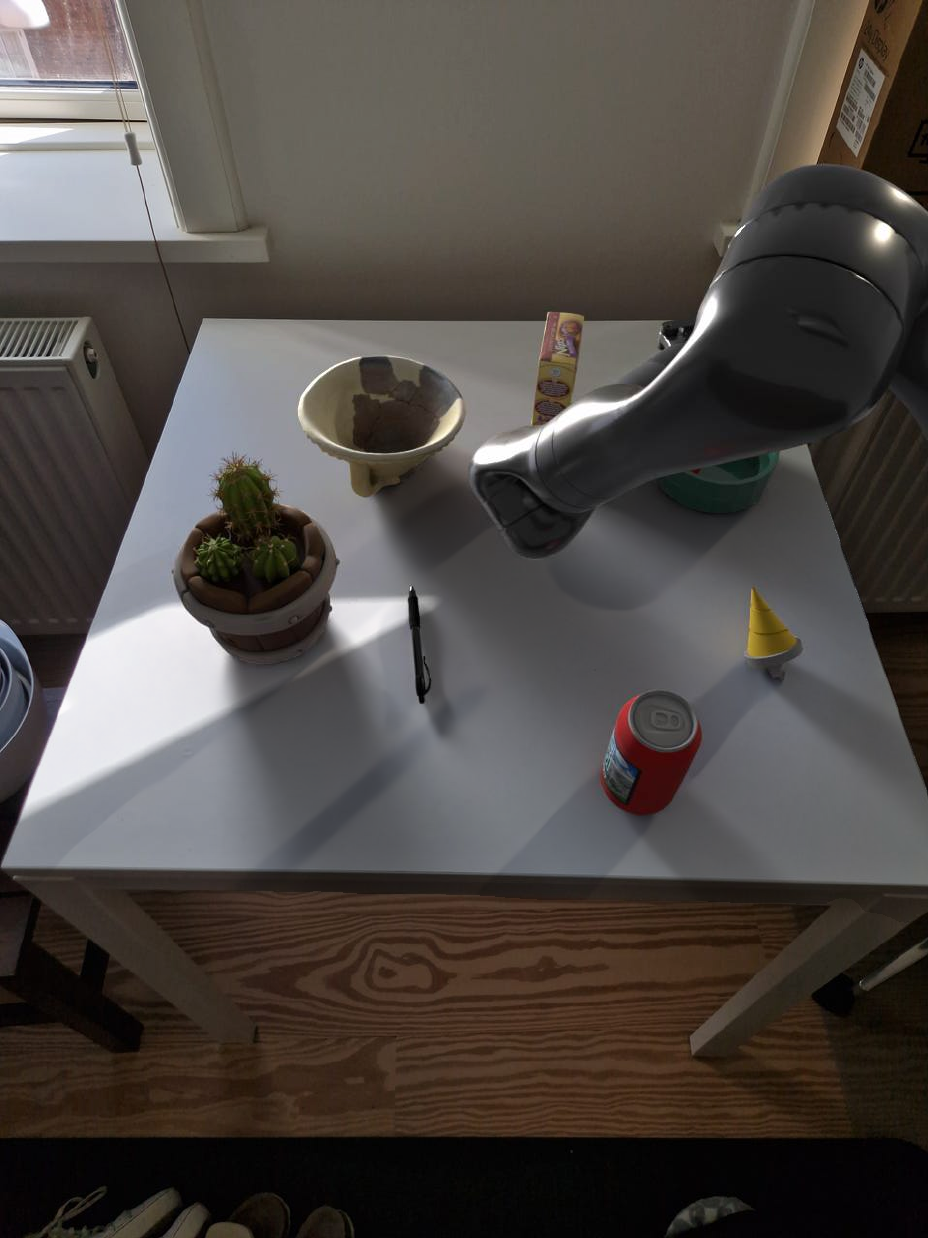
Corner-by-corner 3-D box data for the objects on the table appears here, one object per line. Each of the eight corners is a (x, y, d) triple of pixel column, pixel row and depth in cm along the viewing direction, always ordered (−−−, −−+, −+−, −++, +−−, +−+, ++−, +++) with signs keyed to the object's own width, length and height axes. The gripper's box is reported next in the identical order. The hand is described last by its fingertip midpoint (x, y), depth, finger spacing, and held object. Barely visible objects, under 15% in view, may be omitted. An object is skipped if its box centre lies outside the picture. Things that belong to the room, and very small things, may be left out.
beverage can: (600, 744, 78) (621, 677, 69) (674, 754, 78) (706, 687, 68) (597, 813, 75) (618, 752, 65) (675, 824, 74) (708, 764, 64)
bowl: (432, 538, 93) (430, 475, 86) (285, 497, 97) (269, 433, 89) (485, 435, 103) (487, 370, 95) (349, 401, 107) (341, 335, 99)
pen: (433, 705, 81) (433, 699, 80) (416, 706, 81) (415, 700, 80) (422, 589, 89) (422, 582, 88) (406, 590, 89) (405, 583, 88)
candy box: (562, 474, 99) (576, 365, 87) (525, 469, 100) (534, 360, 87) (570, 423, 104) (585, 313, 92) (535, 418, 105) (545, 309, 92)
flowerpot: (340, 688, 82) (311, 552, 66) (182, 683, 82) (114, 547, 66) (357, 570, 91) (334, 425, 74) (213, 566, 91) (160, 421, 75)
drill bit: (749, 697, 82) (717, 602, 80) (762, 675, 86) (733, 583, 84) (805, 690, 79) (774, 590, 77) (816, 667, 83) (787, 572, 81)
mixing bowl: (772, 448, 102) (785, 416, 98) (760, 527, 94) (773, 495, 90) (662, 426, 104) (670, 393, 100) (642, 501, 97) (650, 468, 93)
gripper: (733, 408, 69) (852, 321, 76) (605, 331, 76) (726, 258, 82) (711, 475, 76) (823, 389, 82) (595, 399, 82) (708, 325, 88)
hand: (774, 324), depth 82 cm, fingers closed on stirring stick, 2 cm apart
